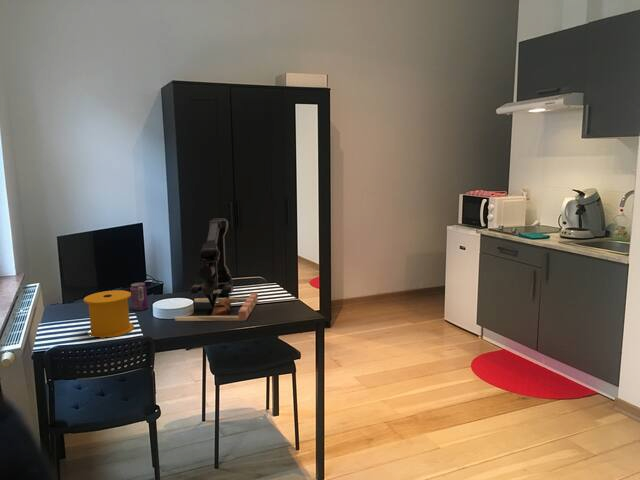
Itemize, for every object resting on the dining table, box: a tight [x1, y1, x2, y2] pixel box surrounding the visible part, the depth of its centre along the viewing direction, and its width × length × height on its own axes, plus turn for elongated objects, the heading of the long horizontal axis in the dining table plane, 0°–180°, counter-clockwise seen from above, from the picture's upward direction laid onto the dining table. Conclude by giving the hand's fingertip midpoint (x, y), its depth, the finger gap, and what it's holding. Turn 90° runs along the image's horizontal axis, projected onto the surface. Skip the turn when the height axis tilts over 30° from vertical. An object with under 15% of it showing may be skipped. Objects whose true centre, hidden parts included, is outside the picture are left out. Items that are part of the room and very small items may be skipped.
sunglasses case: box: [210, 297, 232, 316], centre depth 240 cm, size 18×7×7 cm, turn 9°
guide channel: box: [174, 292, 259, 322], centre depth 240 cm, size 30×31×4 cm
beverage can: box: [129, 282, 149, 311], centre depth 244 cm, size 7×7×12 cm
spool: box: [83, 289, 135, 339], centre depth 214 cm, size 18×18×15 cm
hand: (213, 307), depth 240 cm, fingers closed
